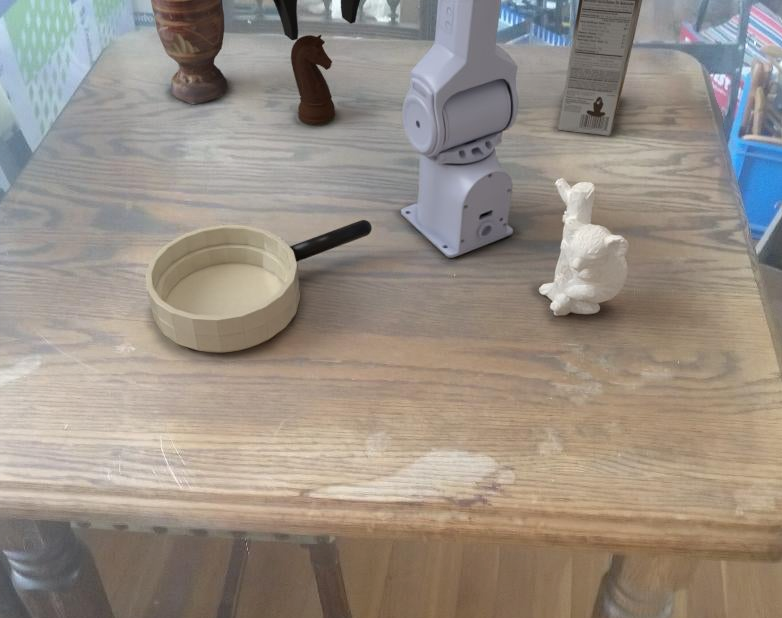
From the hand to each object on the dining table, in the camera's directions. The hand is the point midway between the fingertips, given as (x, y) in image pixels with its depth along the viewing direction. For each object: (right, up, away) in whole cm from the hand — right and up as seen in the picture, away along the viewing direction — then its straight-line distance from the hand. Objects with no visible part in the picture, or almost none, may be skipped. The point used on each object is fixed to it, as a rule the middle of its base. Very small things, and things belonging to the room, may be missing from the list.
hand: (320, 28), depth 100 cm
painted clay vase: (-16, -2, +14) cm, 21 cm away
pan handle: (+1, -29, -16) cm, 33 cm away
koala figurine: (+24, -35, -19) cm, 46 cm away
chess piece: (-1, -8, +6) cm, 11 cm away
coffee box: (+32, -9, +4) cm, 34 cm away
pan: (-9, -34, -17) cm, 40 cm away
